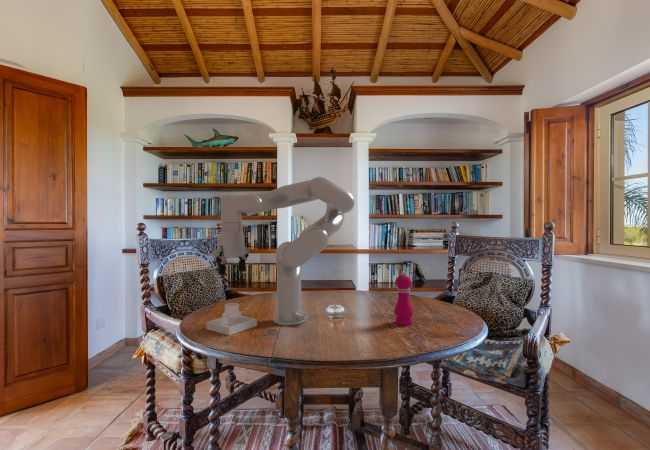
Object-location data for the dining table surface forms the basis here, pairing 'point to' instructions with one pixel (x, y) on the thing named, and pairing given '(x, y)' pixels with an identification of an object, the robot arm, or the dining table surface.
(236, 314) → the pipe fitting
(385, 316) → the dining table surface
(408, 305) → the pepper mill
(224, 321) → the tray
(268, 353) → the dining table surface
